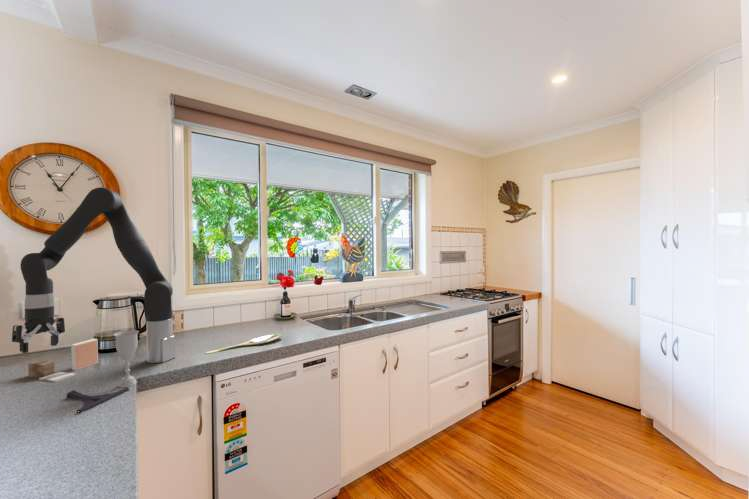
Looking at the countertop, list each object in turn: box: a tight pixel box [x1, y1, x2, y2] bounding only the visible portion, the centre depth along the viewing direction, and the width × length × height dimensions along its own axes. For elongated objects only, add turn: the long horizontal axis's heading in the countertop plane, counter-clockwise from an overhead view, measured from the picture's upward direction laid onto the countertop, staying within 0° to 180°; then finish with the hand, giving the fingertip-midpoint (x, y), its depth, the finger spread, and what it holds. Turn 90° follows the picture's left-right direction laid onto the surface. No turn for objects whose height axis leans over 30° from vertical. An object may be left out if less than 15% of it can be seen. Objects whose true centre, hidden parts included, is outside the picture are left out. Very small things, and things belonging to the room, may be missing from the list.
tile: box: [70, 338, 99, 371], centre depth 125 cm, size 2×8×10 cm, turn 167°
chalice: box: [113, 329, 140, 388], centre depth 108 cm, size 7×7×18 cm
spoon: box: [204, 333, 282, 355], centre depth 149 cm, size 35×11×2 cm, turn 127°
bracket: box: [65, 386, 130, 413], centre depth 98 cm, size 14×15×3 cm
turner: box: [27, 360, 76, 383], centre depth 115 cm, size 16×6×5 cm, turn 77°
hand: (39, 348), depth 116 cm, fingers open, 8 cm apart
